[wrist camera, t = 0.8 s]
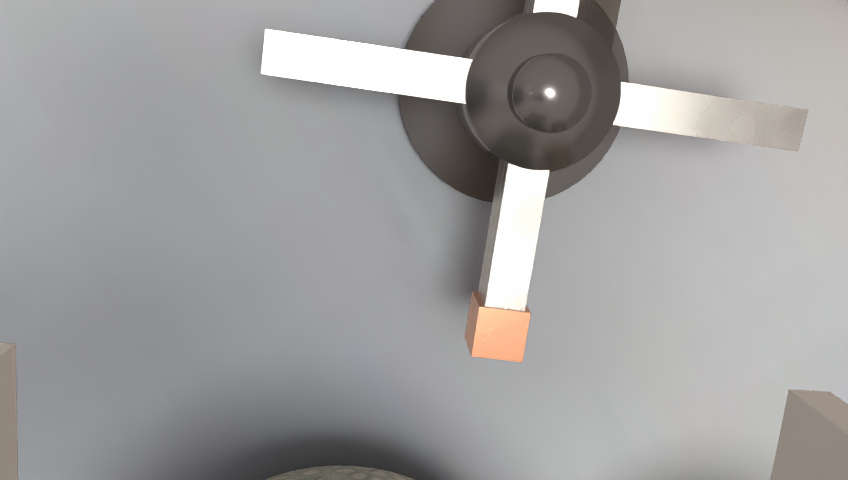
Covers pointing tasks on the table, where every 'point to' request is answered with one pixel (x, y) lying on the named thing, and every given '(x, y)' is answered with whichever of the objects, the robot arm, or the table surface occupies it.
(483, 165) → the stand
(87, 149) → the table surface
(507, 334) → the silver cross-shaped piece
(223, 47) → the table surface
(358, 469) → the planter
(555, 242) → the table surface
